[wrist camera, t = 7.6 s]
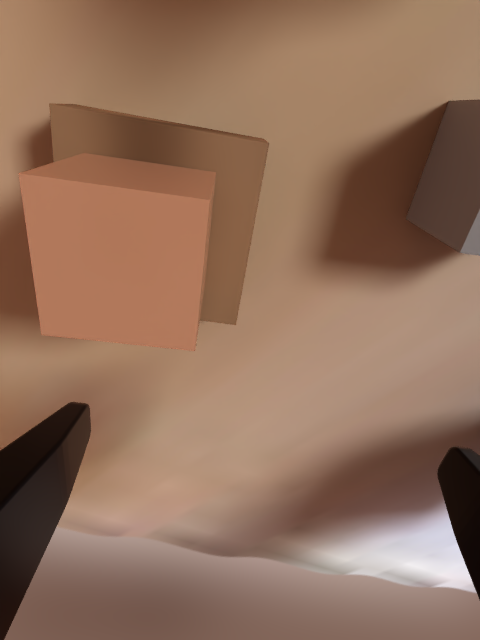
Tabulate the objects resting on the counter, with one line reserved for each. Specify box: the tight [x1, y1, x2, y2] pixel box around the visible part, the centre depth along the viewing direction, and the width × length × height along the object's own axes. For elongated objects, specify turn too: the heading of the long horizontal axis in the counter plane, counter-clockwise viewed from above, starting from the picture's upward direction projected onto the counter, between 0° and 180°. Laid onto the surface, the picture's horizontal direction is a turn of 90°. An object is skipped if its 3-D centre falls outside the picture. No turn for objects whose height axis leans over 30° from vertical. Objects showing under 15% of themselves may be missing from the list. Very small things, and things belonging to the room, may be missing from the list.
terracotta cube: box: [19, 153, 216, 351], centre depth 13 cm, size 5×5×5 cm
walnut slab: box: [49, 104, 269, 325], centre depth 17 cm, size 8×8×3 cm
